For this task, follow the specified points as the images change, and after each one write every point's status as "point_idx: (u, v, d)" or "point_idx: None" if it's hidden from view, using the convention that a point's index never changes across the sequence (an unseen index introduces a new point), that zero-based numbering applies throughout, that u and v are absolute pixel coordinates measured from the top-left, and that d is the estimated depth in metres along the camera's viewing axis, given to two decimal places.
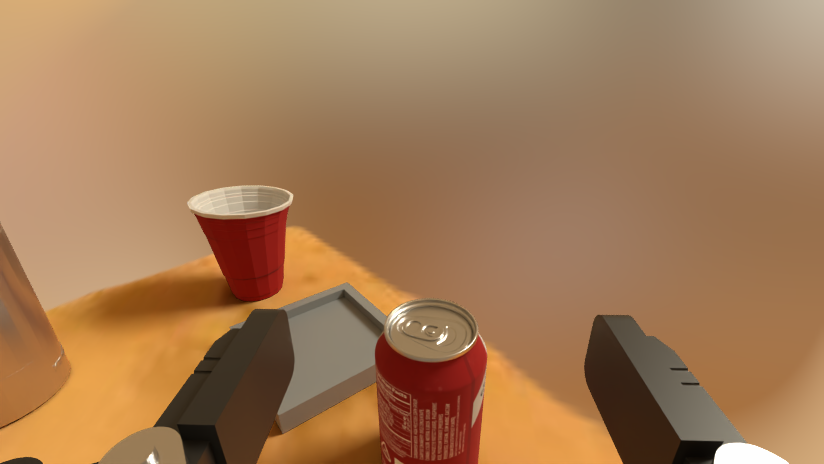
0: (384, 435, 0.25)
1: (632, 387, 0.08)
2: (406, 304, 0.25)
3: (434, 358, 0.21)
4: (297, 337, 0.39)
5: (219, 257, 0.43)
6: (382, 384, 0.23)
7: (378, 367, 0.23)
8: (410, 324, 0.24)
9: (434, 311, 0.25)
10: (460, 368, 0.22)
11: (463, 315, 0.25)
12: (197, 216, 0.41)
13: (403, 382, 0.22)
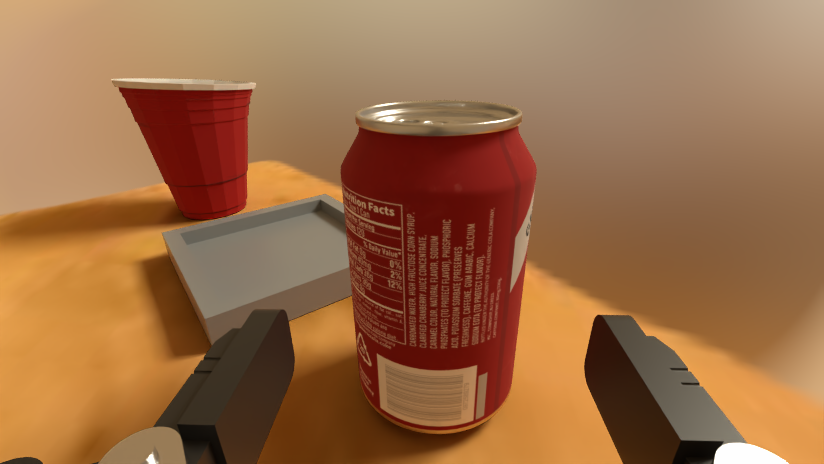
0: (360, 318, 0.15)
1: (632, 387, 0.08)
2: (396, 105, 0.15)
3: (446, 125, 0.11)
4: (253, 246, 0.29)
5: (156, 155, 0.33)
6: (352, 209, 0.13)
7: (345, 179, 0.13)
8: (402, 123, 0.14)
9: (442, 114, 0.15)
10: (494, 157, 0.12)
11: (491, 113, 0.15)
12: (122, 92, 0.31)
13: (387, 183, 0.11)
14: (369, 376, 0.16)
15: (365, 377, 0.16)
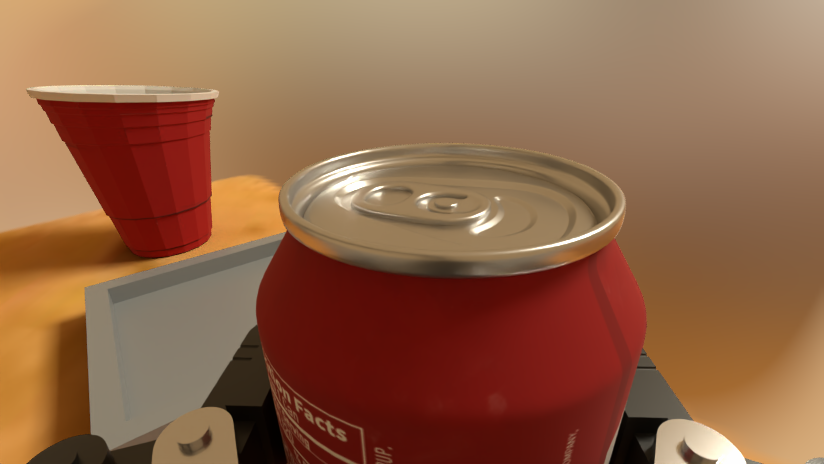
0: None
1: None
2: (373, 153, 0.09)
3: (471, 256, 0.04)
4: (202, 305, 0.22)
5: (91, 181, 0.27)
6: (272, 385, 0.06)
7: None
8: (381, 194, 0.08)
9: (453, 171, 0.09)
10: (580, 314, 0.05)
11: (544, 173, 0.08)
12: (41, 104, 0.24)
13: (329, 376, 0.05)
14: None
15: None
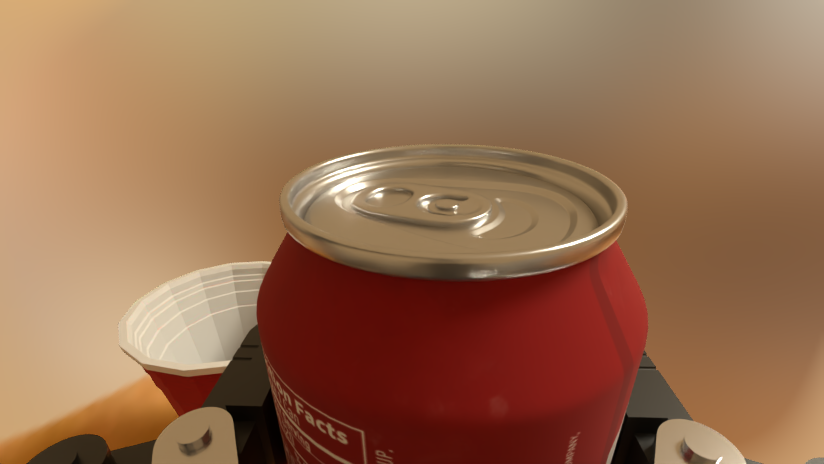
0: None
1: None
2: (373, 154, 0.09)
3: (473, 259, 0.04)
4: None
5: None
6: (272, 387, 0.06)
7: None
8: (381, 195, 0.08)
9: (454, 172, 0.09)
10: (581, 316, 0.05)
11: (545, 175, 0.08)
12: None
13: (331, 379, 0.05)
14: None
15: None
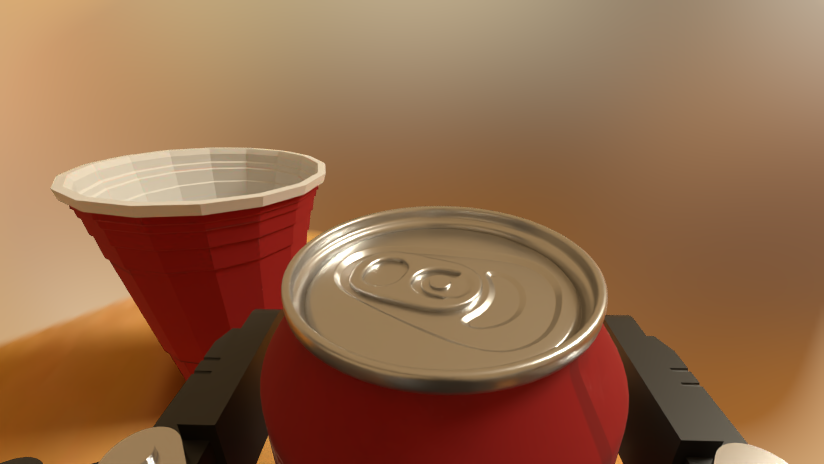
0: None
1: (632, 387, 0.08)
2: (371, 219, 0.09)
3: (458, 378, 0.05)
4: None
5: (147, 313, 0.18)
6: (276, 463, 0.07)
7: (262, 403, 0.07)
8: (378, 268, 0.08)
9: (448, 237, 0.09)
10: (561, 416, 0.05)
11: (534, 244, 0.08)
12: (75, 210, 0.15)
13: None
14: None
15: None
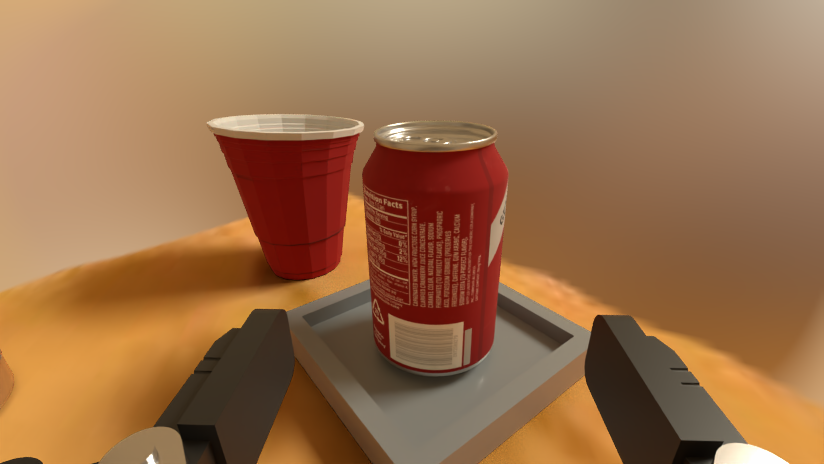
0: (375, 287, 0.20)
1: (632, 387, 0.08)
2: (403, 124, 0.20)
3: (439, 144, 0.16)
4: None
5: (255, 210, 0.28)
6: (371, 204, 0.18)
7: (366, 181, 0.18)
8: (408, 139, 0.19)
9: (439, 132, 0.20)
10: (474, 167, 0.16)
11: (476, 131, 0.19)
12: (224, 140, 0.26)
13: (397, 185, 0.16)
14: (382, 332, 0.20)
15: (379, 334, 0.21)
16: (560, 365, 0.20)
